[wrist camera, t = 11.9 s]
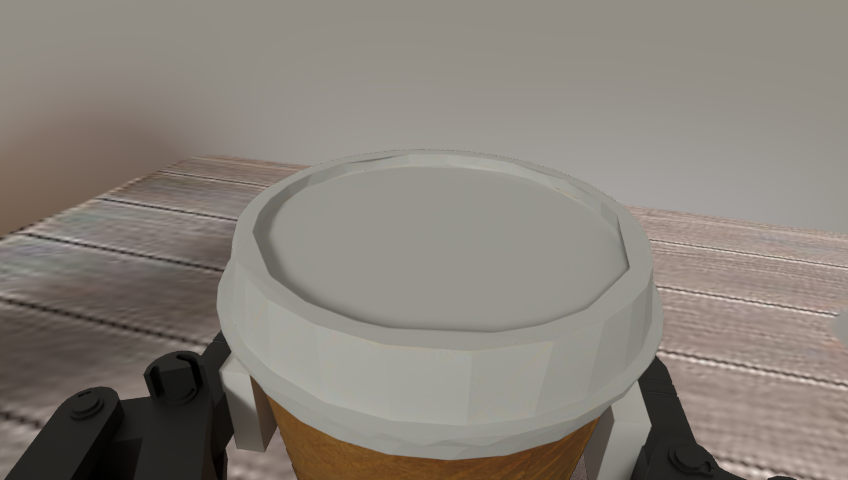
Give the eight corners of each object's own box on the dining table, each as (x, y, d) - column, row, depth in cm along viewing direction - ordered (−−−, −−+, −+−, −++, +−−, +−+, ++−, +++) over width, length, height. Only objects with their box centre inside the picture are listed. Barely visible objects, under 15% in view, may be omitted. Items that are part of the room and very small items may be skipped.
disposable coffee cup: (439, 850, 11) (492, 518, 5) (219, 543, 16) (121, 213, 11) (623, 532, 17) (743, 217, 11) (418, 386, 23) (427, 124, 17)
